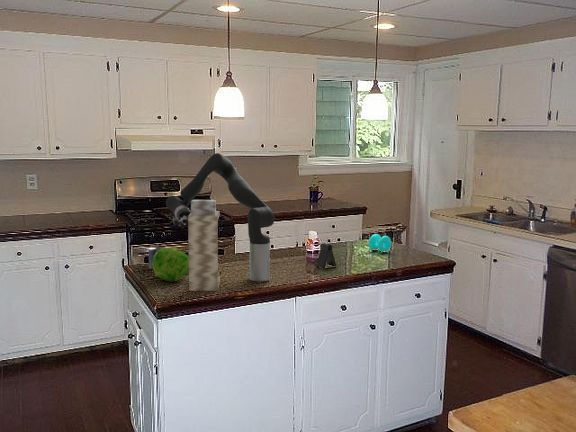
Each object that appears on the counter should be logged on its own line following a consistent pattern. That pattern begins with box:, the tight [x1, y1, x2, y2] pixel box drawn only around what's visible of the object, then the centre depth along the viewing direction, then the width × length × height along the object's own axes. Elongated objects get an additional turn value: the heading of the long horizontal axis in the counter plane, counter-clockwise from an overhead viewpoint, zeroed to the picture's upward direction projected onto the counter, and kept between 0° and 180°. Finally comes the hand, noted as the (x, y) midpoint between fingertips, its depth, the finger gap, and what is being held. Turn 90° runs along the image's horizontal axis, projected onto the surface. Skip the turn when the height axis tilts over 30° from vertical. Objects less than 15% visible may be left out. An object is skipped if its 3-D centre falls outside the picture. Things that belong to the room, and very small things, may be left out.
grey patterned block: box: [190, 199, 217, 216], centre depth 235 cm, size 10×23×6 cm, turn 4°
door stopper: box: [315, 242, 337, 268], centre depth 270 cm, size 9×6×12 cm, turn 120°
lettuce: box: [152, 247, 189, 282], centre depth 242 cm, size 17×20×15 cm
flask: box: [148, 244, 167, 270], centre depth 264 cm, size 10×3×12 cm, turn 133°
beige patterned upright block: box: [187, 210, 221, 292], centre depth 232 cm, size 12×16×32 cm
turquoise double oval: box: [368, 233, 392, 252], centre depth 308 cm, size 10×10×10 cm
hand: (192, 226), depth 245 cm, fingers open, 8 cm apart
